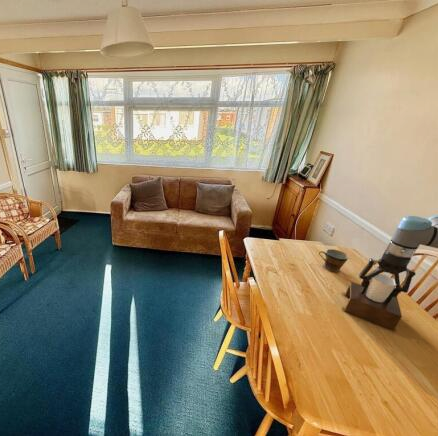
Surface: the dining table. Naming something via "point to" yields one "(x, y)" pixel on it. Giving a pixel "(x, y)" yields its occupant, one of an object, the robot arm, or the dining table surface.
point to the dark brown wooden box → (372, 307)
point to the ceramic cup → (334, 259)
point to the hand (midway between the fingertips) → (374, 296)
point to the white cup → (380, 288)
